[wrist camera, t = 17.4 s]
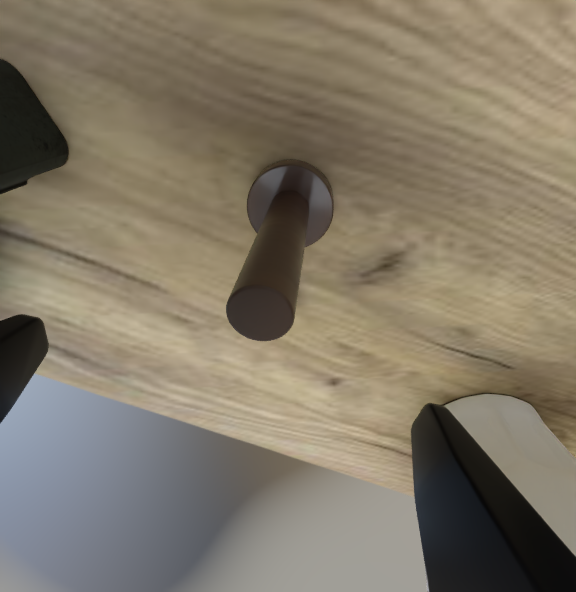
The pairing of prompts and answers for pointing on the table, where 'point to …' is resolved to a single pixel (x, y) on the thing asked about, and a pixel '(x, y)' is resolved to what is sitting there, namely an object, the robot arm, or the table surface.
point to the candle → (25, 133)
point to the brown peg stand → (278, 247)
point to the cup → (525, 456)
